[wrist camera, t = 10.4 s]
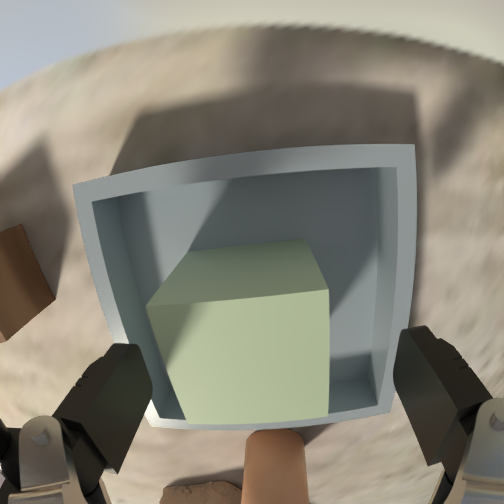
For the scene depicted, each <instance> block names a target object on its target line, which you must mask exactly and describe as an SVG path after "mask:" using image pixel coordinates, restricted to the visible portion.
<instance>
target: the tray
mask: <svg viewBox="0 0 504 504" xmlns="http://www.w3.org/2000/svg"><path fill="white" fill-rule="evenodd" d="M72 186H73V192H74V198H75V203H76V209H77V214H78V219H79V224H80V229H81V233H82V238H83V242H84V247H85V251H86V255H87V259H88V263H89V266H90V270H91V274H92V277H93V281H94V284H95V288H96V291H97V295H98V298H99V301H100V304H101V307H102V310H103V313H104V316H105V319H106V322H107V325H108V328H109V331H110V334H111V336H112V339H113V342H114V343H127V344H137V345H138V346H139V347H140V349H141V352H142V355H143V358H144V361H145V364H146V367H147V369H148V372H149V375H150V378H151V381H152V386H153V393H152V398H151V400H150V403H149V405H148V407H147V409H146V411H145V416H146V418H147V420H148V422H149V424H150V426H153V427H164V428H176V429H193V430H263V429H280V428H292V427H303V426H312V425H320V424H328V423H335V422H342V421H348V420H354V419H359V418H365V417H370V416H375V415H379V414H384V413H388V412H390V410H391V406H392V402H393V398H394V394H395V390H396V389H395V386H394V382H393V367H394V362H395V357H396V352H397V347H398V341H399V335H400V332H401V330H402V329H406V328H408V323H409V316H410V308H411V300H412V291H413V281H414V270H415V256H416V235H417V180H416V159H415V145H414V144H348V145H324V146H307V147H293V148H281V149H270V150H260V151H251V152H242V153H234V154H226V155H219V156H212V157H205V158H198V159H192V160H186V161H180V162H174V163H169V164H163V165H158V166H153V167H147V168H142V169H138V170H133V171H128V172H124V173H119V174H115V175H110V176H106V177H102V178H98V179H94V180H90V181H86V182H82V183H78V184H74V185H72ZM304 238H305V239H306V241H307V243H308V245H309V247H310V249H311V251H312V253H313V256H314V258H315V260H316V262H317V264H318V266H319V269H320V271H321V273H322V275H323V277H324V280H325V282H326V284H327V286H328V289H329V320H330V368H329V405H328V416H327V417H320V418H312V419H304V420H295V421H284V422H272V423H256V424H220V425H214V424H188V423H187V420H186V418H185V416H184V413H183V411H182V408H181V406H180V404H179V401H178V399H177V396H176V394H175V391H174V388H173V386H172V383H171V381H170V378H169V375H168V373H167V370H166V367H165V364H164V361H163V359H162V356H161V353H160V350H159V347H158V344H157V341H156V338H155V335H154V332H153V329H152V326H151V322H150V319H149V316H148V313H147V309H146V305H147V304H148V302H149V301H150V300H151V298H152V297H153V296H154V294H155V293H156V292H157V290H158V289H159V288H160V286H161V285H162V284H163V282H164V281H165V280H166V279H167V277H168V276H169V275H170V273H171V272H172V271H173V270H174V268H175V267H176V266H177V264H178V263H179V262H180V261H181V259H182V258H183V257H184V256H185V254H186V253H187V252H191V251H199V250H208V249H216V248H225V247H233V246H242V245H251V244H259V243H268V242H277V241H286V240H295V239H304Z"/></svg>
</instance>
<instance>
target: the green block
mask: <svg viewBox="0 0 504 504" xmlns="http://www.w3.org/2000/svg"><path fill="white" fill-rule="evenodd" d="M146 309H147V313H148V316H149V319H150V322H151V326H152V329H153V332H154V335H155V338H156V341H157V344H158V347H159V350H160V353H161V356H162V359H163V361H164V364H165V367H166V370H167V373H168V375H169V378H170V381H171V383H172V386H173V388H174V391H175V394H176V396H177V399H178V401H179V404H180V406H181V408H182V411H183V413H184V416H185V418H186V420H187V423H188V424H214V425H220V424H256V423H272V422H284V421H295V420H304V419H312V418H320V417H327V416H328V405H329V368H330V320H329V289H328V286H327V284H326V282H325V280H324V277H323V275H322V273H321V271H320V269H319V266H318V264H317V262H316V260H315V258H314V256H313V253H312V251H311V249H310V247H309V245H308V243H307V241H306V239H305V238H304V239H295V240H286V241H277V242H268V243H259V244H251V245H242V246H233V247H225V248H216V249H208V250H199V251H191V252H187V253H186V254H185V256H184V257H183V258H182V259H181V261H180V262H179V263H178V264H177V266H176V267H175V268H174V270H173V271H172V272H171V273H170V275H169V276H168V277H167V279H166V280H165V281H164V282H163V284H162V285H161V286H160V288H159V289H158V290H157V292H156V293H155V294H154V296H153V297H152V298H151V300H150V301H149V302H148V304H147V305H146Z"/></svg>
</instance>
